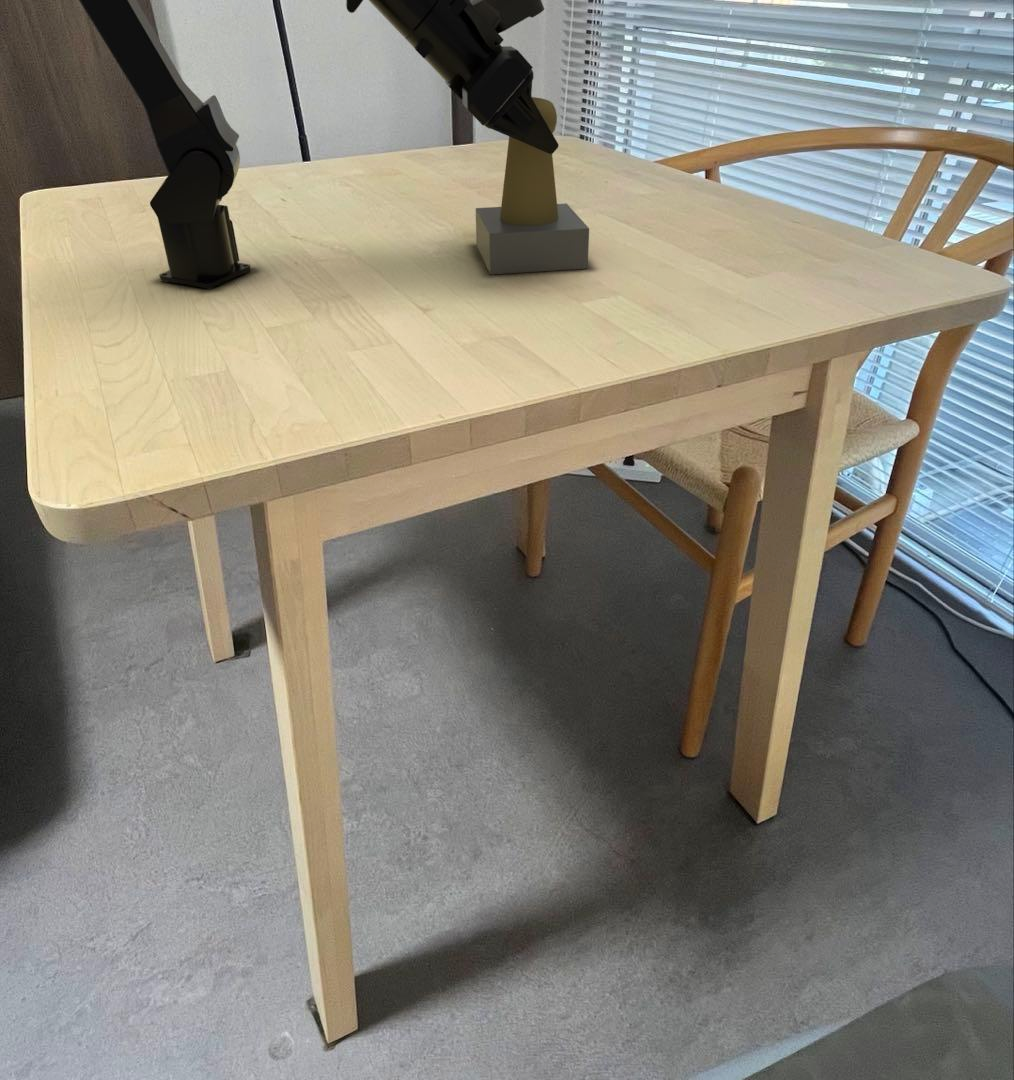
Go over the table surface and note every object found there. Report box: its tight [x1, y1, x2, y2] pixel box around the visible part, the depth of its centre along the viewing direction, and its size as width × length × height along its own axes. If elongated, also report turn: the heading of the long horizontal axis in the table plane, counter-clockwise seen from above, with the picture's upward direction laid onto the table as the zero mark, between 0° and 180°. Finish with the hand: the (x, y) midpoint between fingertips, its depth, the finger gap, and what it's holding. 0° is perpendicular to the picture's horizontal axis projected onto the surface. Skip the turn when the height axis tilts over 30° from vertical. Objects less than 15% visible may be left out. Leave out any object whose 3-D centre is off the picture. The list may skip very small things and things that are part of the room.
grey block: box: [475, 203, 590, 275], centre depth 90 cm, size 10×10×4 cm
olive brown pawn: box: [500, 96, 558, 226], centre depth 86 cm, size 6×6×11 cm
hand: (545, 140), depth 85 cm, fingers open, 9 cm apart
